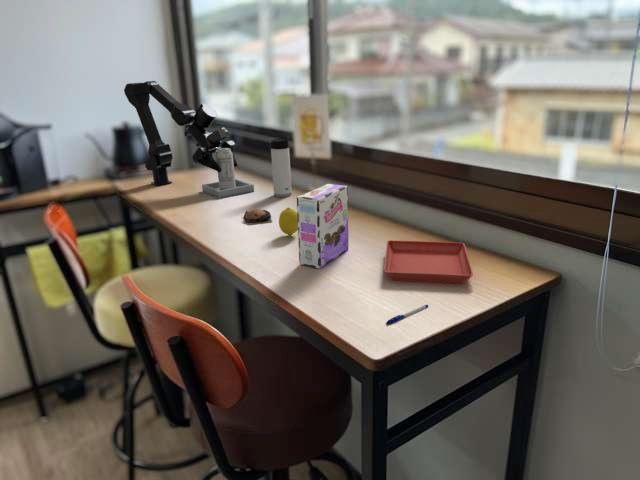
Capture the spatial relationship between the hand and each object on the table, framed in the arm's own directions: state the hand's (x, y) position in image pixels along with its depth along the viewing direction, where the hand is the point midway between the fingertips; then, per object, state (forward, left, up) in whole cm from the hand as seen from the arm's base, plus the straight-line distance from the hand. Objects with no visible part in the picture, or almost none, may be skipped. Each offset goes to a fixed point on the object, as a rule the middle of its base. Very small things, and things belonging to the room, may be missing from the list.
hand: (228, 168), depth 173 cm
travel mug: (+18, +11, -9) cm, 23 cm away
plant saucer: (+93, 0, -9) cm, 93 cm away
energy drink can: (-1, -1, -8) cm, 8 cm away
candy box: (+73, -13, -9) cm, 74 cm away
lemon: (+55, -11, -9) cm, 56 cm away
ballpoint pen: (+105, -18, -9) cm, 107 cm away
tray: (-1, -1, -9) cm, 9 cm away
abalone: (+35, -9, -9) cm, 38 cm away
